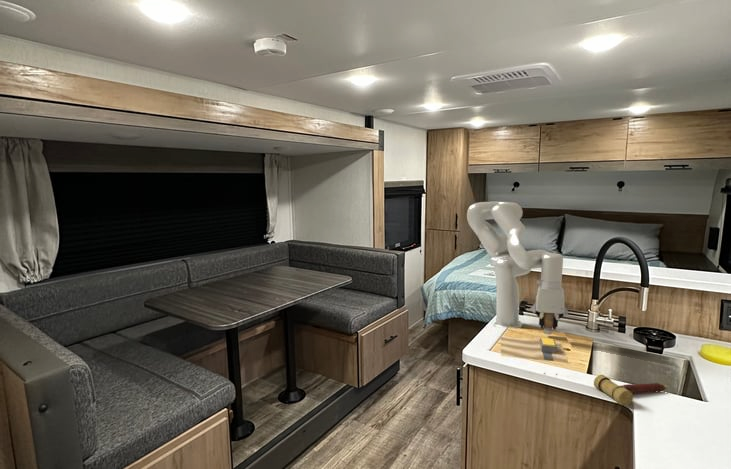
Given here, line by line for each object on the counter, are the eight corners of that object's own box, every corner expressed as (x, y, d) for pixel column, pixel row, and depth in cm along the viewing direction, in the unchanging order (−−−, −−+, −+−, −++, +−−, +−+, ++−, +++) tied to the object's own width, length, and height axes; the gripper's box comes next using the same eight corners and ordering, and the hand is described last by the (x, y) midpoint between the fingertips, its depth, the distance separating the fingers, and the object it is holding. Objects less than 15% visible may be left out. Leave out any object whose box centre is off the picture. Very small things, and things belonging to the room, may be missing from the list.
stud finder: (539, 344, 148) (540, 337, 148) (554, 346, 147) (554, 338, 146) (541, 352, 142) (541, 344, 142) (556, 353, 140) (556, 345, 140)
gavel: (653, 372, 121) (684, 388, 112) (652, 386, 122) (682, 403, 112) (594, 374, 118) (619, 391, 108) (592, 388, 119) (618, 406, 109)
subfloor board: (500, 339, 158) (500, 336, 158) (559, 345, 151) (559, 341, 151) (501, 359, 140) (501, 355, 140) (568, 366, 133) (568, 362, 133)
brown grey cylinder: (541, 330, 159) (543, 309, 157) (552, 331, 157) (553, 310, 156) (542, 334, 155) (544, 312, 153) (553, 335, 154) (555, 313, 152)
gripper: (528, 285, 152) (526, 328, 155) (576, 288, 147) (572, 333, 150) (527, 280, 159) (525, 322, 162) (572, 283, 154) (569, 326, 157)
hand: (548, 327), depth 156 cm, fingers closed on brown grey cylinder, 4 cm apart
